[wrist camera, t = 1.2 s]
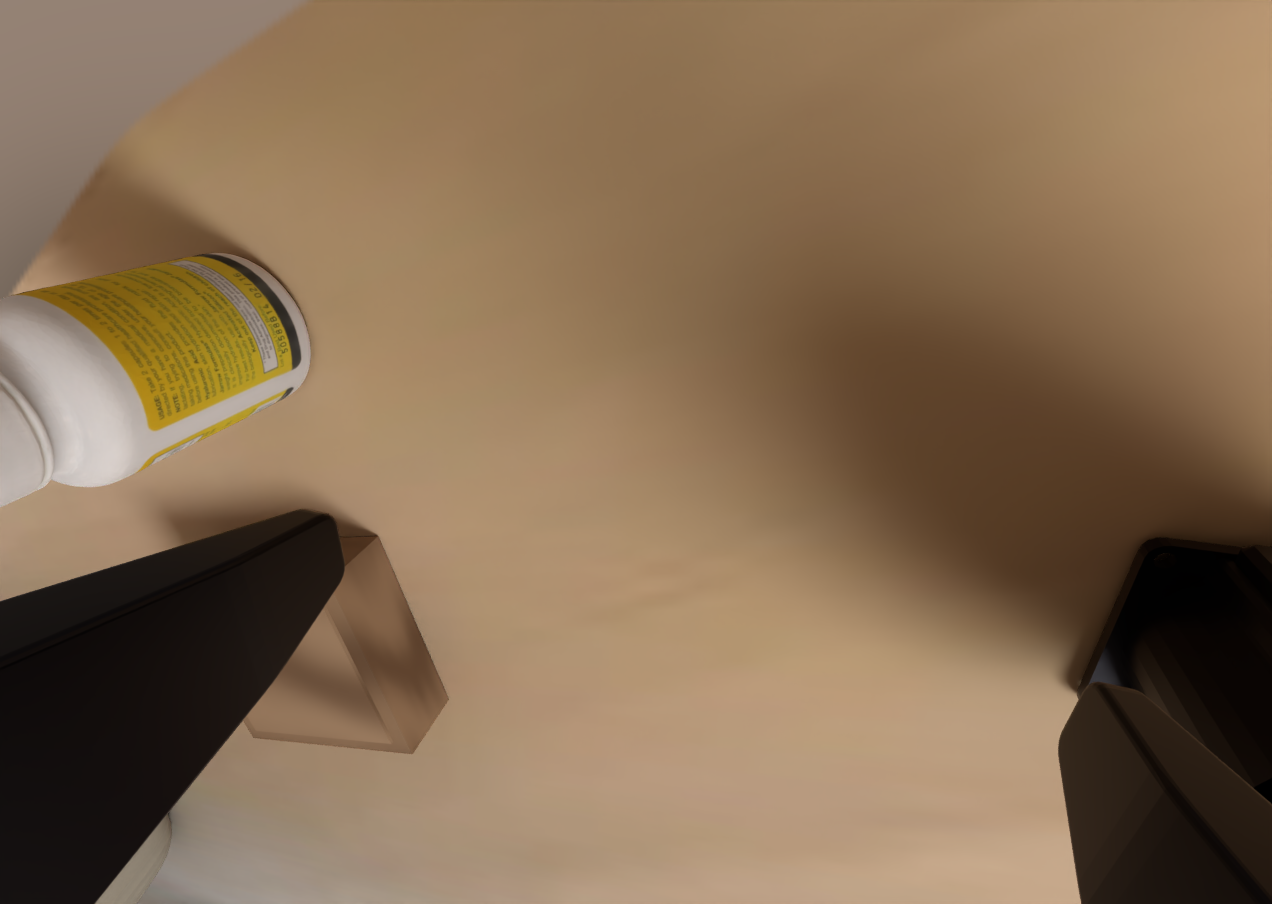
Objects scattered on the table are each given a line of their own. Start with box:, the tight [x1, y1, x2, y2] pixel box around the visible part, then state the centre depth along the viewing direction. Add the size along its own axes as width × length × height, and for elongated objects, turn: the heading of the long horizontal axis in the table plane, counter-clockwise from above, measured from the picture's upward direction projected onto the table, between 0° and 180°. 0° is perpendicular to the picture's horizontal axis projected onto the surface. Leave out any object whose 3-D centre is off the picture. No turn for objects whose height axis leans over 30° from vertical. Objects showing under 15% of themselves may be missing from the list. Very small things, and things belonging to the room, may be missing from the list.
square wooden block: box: [243, 536, 449, 754], centre depth 28 cm, size 9×9×3 cm
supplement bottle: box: [0, 253, 311, 507], centre depth 19 cm, size 5×5×10 cm
